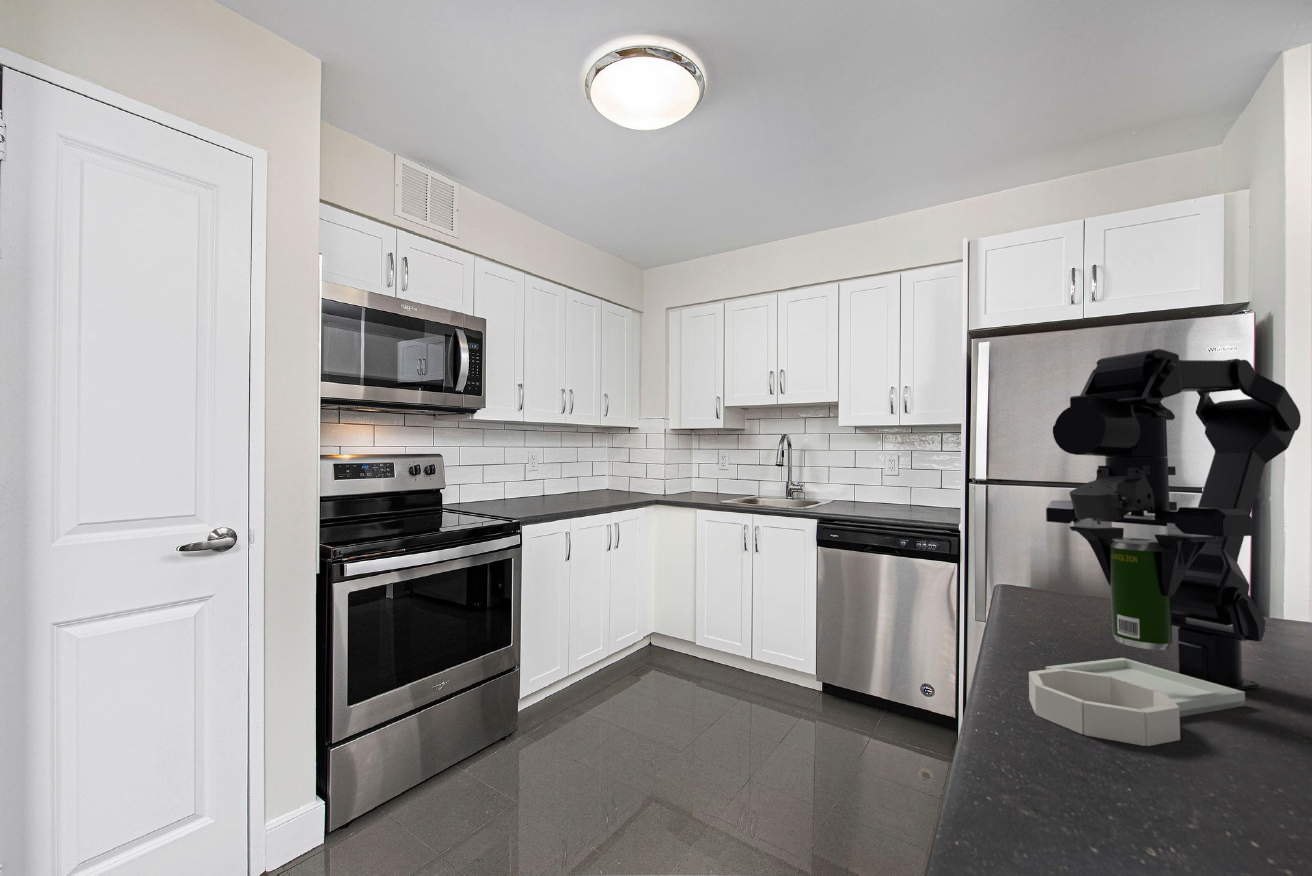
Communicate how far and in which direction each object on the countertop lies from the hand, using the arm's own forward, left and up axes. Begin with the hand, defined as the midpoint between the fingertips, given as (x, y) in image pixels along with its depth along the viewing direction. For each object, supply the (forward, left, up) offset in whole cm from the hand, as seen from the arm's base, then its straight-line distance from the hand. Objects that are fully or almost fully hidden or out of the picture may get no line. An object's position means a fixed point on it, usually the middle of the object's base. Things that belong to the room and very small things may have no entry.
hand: (1140, 590), depth 68 cm
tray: (0, 0, -12) cm, 12 cm away
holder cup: (+13, +4, -12) cm, 18 cm away
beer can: (0, 0, -6) cm, 6 cm away
